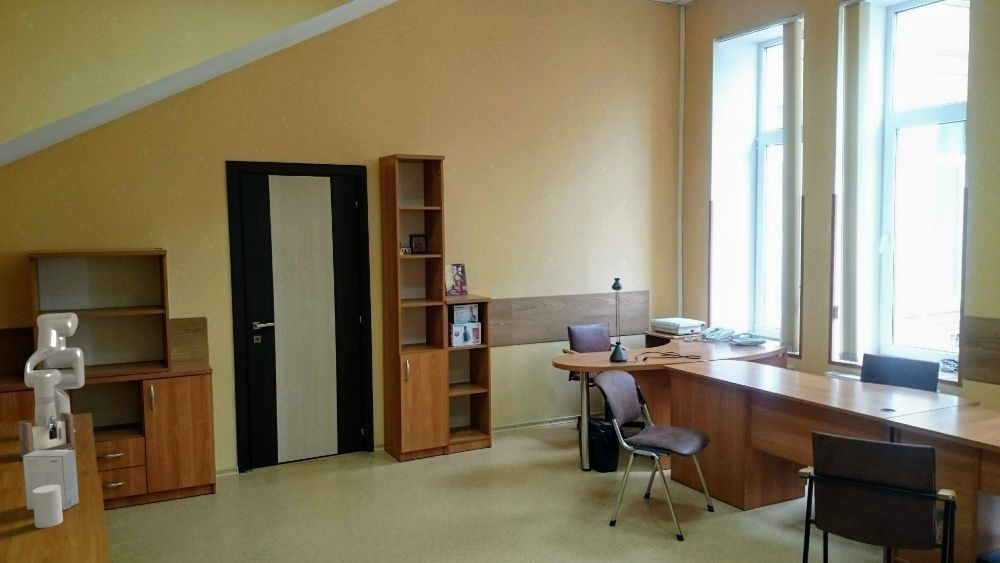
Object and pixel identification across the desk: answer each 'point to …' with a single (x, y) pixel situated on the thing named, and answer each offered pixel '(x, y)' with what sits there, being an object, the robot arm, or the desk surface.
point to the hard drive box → (51, 474)
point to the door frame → (27, 447)
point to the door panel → (42, 436)
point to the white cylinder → (47, 506)
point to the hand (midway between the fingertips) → (47, 437)
